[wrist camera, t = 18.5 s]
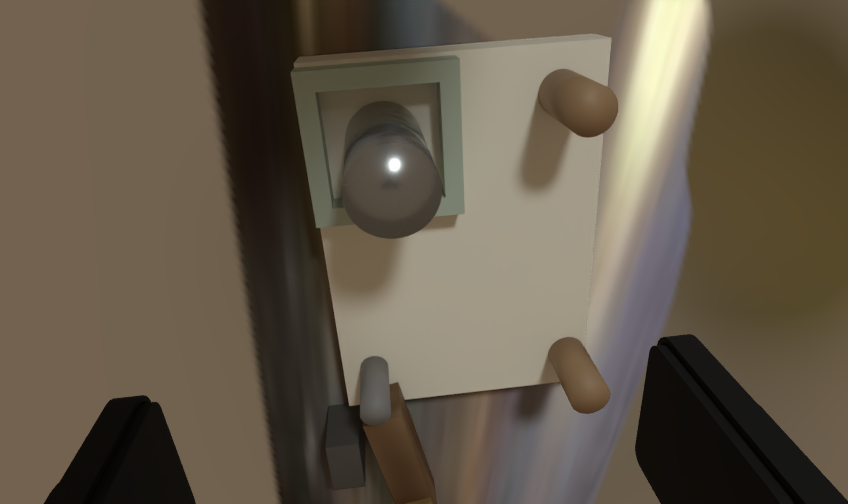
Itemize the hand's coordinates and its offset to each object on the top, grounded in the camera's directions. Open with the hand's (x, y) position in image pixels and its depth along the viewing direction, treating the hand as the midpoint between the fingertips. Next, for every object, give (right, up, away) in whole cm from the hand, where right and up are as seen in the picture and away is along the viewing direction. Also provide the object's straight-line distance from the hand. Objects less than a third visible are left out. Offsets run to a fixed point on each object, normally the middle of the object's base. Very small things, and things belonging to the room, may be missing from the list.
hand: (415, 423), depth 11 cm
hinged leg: (-2, -10, +28) cm, 29 cm away
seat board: (+1, +2, +25) cm, 26 cm away
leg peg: (-2, +9, +18) cm, 21 cm away
